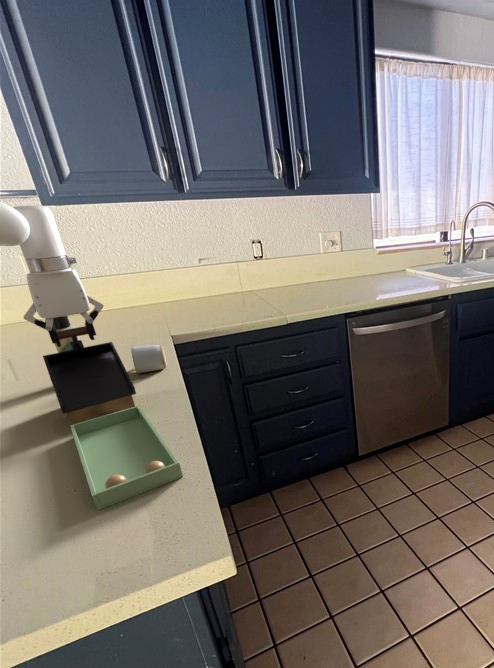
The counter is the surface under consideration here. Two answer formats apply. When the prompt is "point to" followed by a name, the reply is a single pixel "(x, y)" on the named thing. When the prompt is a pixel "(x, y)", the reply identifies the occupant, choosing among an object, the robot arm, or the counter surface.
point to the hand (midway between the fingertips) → (75, 341)
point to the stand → (100, 410)
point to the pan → (87, 373)
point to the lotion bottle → (63, 324)
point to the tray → (122, 455)
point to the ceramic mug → (149, 358)
